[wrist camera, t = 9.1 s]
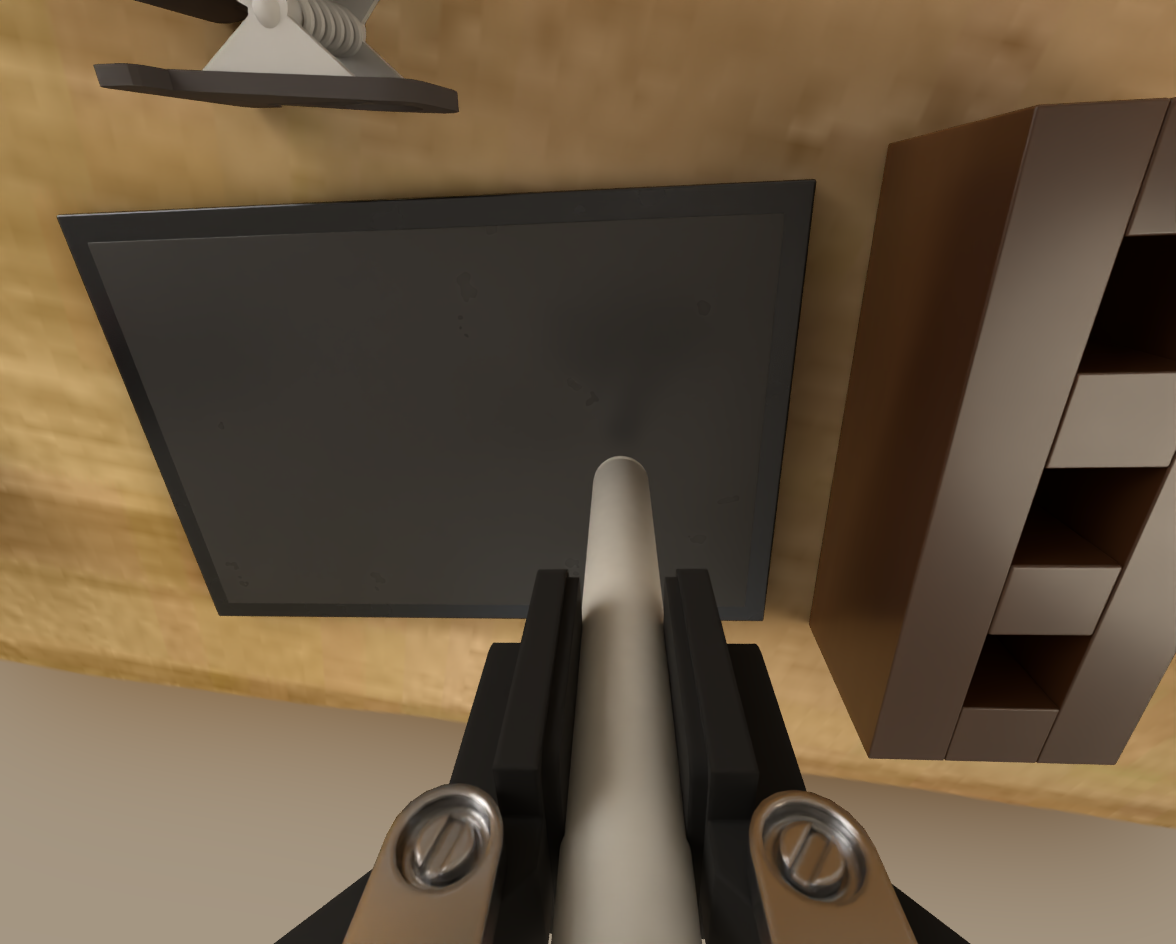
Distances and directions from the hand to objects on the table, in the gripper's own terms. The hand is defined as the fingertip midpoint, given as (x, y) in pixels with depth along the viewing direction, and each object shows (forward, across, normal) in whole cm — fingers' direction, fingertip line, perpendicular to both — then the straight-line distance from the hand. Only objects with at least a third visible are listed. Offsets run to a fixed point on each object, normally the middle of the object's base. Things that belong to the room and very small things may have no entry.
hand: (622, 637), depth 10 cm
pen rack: (+10, -11, 0) cm, 15 cm away
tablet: (+10, +6, 0) cm, 11 cm away
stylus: (+7, 0, 0) cm, 7 cm away
